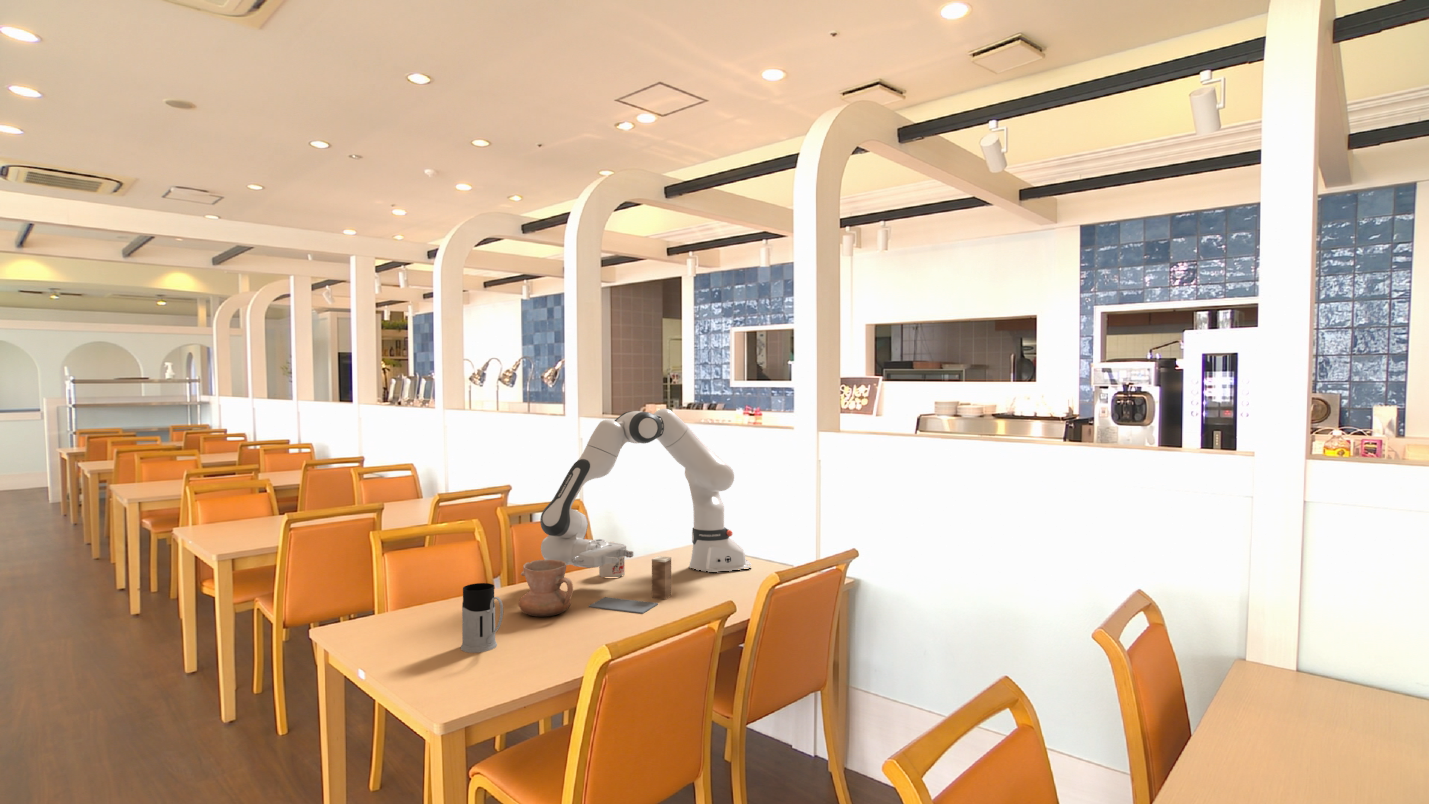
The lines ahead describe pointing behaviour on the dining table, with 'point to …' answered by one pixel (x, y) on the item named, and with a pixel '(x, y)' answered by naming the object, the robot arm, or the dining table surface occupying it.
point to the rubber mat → (623, 605)
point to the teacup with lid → (612, 569)
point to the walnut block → (661, 577)
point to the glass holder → (479, 618)
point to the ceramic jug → (545, 588)
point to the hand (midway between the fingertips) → (625, 557)
